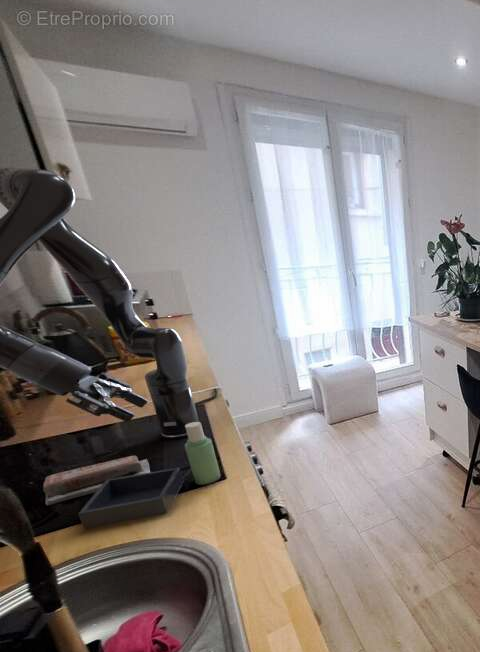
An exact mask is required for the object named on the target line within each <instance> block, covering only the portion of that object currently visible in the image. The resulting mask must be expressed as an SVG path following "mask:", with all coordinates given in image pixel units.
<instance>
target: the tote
mask: <svg viewBox="0 0 480 652" xmlns="http://www.w3.org/2000/svg"><path fill="white" fill-rule="evenodd" d="M181 471H182V470H181V468H180V467H176V468H175V467H174V468H168V469H163V470H158V471H150V473H144V474H138V475H132V476H126V477H120V478H114V479H107V480H106V481H105V482H104V483H103V484H102V486H101V487H100V488H99V489H98V490H97V492H94V493H93V495H92V496H91V498H89V500H88V501H87V502H86V503H85V505H84V506H83V507H82V508H81V509H80V511H79V512H78V513H77V515H78V517H79V519H80V522H81V524H82V527H83V529H84V530H90V529H95V528H101V527H105V526H111V525H115V524H120V523H125V522H130V521H136V520H141V519H145V518H150V517H151V518H152V517H155V516H161V515H165V514H166V515H167V514H168V512H169V510H170V508H171V506H172V505H173V503H174V501H175V500H176V497H177V495H178V493H179V491H180V489H181V488H182V486H183V484H184V478H183V474H182V472H181Z"/></svg>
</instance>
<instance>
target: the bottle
mask: <svg viewBox="0 0 480 652" xmlns="http://www.w3.org/2000/svg"><path fill="white" fill-rule="evenodd" d="M185 428H186V431H187V435H188V436H187V440H186V443H185V444H184V449H185V453H186V456H187V458H188V462H189V466H190V469H191V473H192V477H193V479H194V484H196V485H200V486H204V485H208V484H212V483H214V482H217V481H218V480H219V479H221V476H222V475H221V471H220V468H219V463H218V460H217V456H216V453H215V452H216V451H215V449H214V445H213V442H212V439H211V438H210V437H207V436H206V435H205V434H204V430H203V425H202V423H201V422H200V421H199V422H192V423H189V424H187V425H185Z"/></svg>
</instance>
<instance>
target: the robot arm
mask: <svg viewBox="0 0 480 652" xmlns="http://www.w3.org/2000/svg"><path fill="white" fill-rule="evenodd" d="M75 203H76V194H75V191H74V189H73V187H72V185H71V184H70V183H69V182H68V181H67V180H66V179H65V178H64V177H62V176H61V175H58V174H57V173H55V172H52V171H49V170H45V169H38V168H31V167H19V166H0V204H1V205H2V206H3V207H4V208H5V209H6V210H7V211H6V213H4V215H3V216H1V217H0V287H1V286H2V285H3V284H4V282H5V281H6V279H7V278H8V276H9V275H10V273H12V270H13V269H14V268H15V266H17V264H18V262H20V261H21V259H22V258H23V257H24V255H25V254H26V253H27V252H28V251H29V250H30V249H31V248H32V247H33V246H34V245H35V244H36V243H37V242H38V241H39V242H40V244H41V245H42V246H43V247H44V248H45V249H46V250H47V252H48V253H49V254H50V255H51V256H52V257H53V259H54V260H55V261H56V262H57V263H58V264H59V265H60V266H61V268H62V269H63V271H64V272H66V273H67V275H68V276H69V277H70V279H71V280H72V281H73V282H74V283H75V285H76V286H77V287H78V289H80V291H81V292H82V293H83V294H84V295H85V296H86V297H87V298H88V299H89V300H90V302H91V303H93V305H94V307H96V309H97V310H98V311H99V312H100V314H101V315H102V316H103V317H104V318H105V320H106V322H107V323H108V324H109V326H110V327H111V328H112V330H113V331H114V332H115V334H116V335H117V337H118V339H119V340H120V341H121V343H122V344H123V346H124V347H125V349H126V350H127V352H129V353H130V354H131V355H133V357H135V358H139V359H143V360H155V364H156V368H155V369H153V370H150V371H147V372H146V373H145V374H144V381H145V383H146V387H147V390H148V393H149V396H150V399H151V402H152V405H153V409H154V412H155V415H156V419H157V422H158V425H159V428H160V431H161V436H162V438H164V439H167V440H176V439H182V438H186V437H188V435H187V431H186V428H185V425H187V424H189V423H192V422H200V419H199V416H198V412H197V409H196V406H198V405H200V404H202V403H206V402H208V401H211V400H213V399H215V398H216V397H218V389H217V388H216V387H215V388H213V391H214V395H213V396H210V397H208V398H206V399H202V400H199V401H197V402H195V401H194V397H193V394H192V391H191V387H190V383H189V380H188V375H187V369H188V363H187V360H186V353H185V349H184V345H183V341H182V339H181V336H180V334H179V333H178V332H177V331H176V330H175V329H172V328H169V327H149V326H147V324H145V323H144V322H143V321H142V320H141V319H140V317H139V315H137V313H136V311H135V310H134V306H133V300H134V299H133V295H134V294H133V293H134V292H133V286H132V283H131V281H130V280H129V278H128V277H127V275H125V273H124V272H123V270H122V268H120V267H119V265H118V264H117V262H116V261H115V260H113V259H112V258H111V257H110V255H108V254H107V253H106V252H104V251H103V250H102V249H100V248H99V247H98V246H96V245H95V244H94V243H92V242H91V241H90V240H88V239H87V238H85V237H84V236H83V235H82V234H80V233H79V232H78V231H77V230H75V229H74V228H73V227H72V226H71V225H70V224H69V223H68V221H66V219H65V218H64V217H66V215H68V213H70V211H71V210H72V209H73V208H74V206H75ZM0 368H1V369H4V370H6V371H8V372H10V373H12V374H14V375H15V376H17V377H18V378H20V379H22V380H25V381H27V382H29V383H32V384H34V385H36V386H38V387H41V388H43V389H45V390H46V391H49V392H51V393H54V394H56V395H58V396H60V397H65V396H67V395H69V394H70V395H69V396H68V398H66V400H65V402H66V403H68V404H70V405H72V406H74V407H76V408H79V409H80V410H83V411H85V412H87V413H89V414H91V415H93V416H95V417H100V416H101V415H106V416H107V415H110V416H111V417H114V418H116V419H117V420H121V421H123V422H126V423H129V422H130V421H131V420H132V419H133V418H134V417H135V416H136V414H135V412H133V411H130V410H128V409H126V408H124V407H121V406H119V405H117V404H115V403H114V402H113V401H112V400H111V399H113V398H117V399H122V400H124V401H125V402H128V403H130V404H132V405H134V406H136V407H137V408H143V407H145V405H146V404H147V403H148V402H149V400H148V399H147V398H146V397H143V396H142V395H140V394H137V393H135V392H133V390H132V389H131V388H132V385H131V384H129V383H127V382H125V381H122V380H120V379H119V378H116V377H114V376H113V375H110V374H108V373H105V372H100V374H98V375H97V376H94V375H91V373H92V370H93V369H92V367H91V366H88V365H86V364H84V363H83V362H81V361H79V360H77V359H74V358H72V357H70V356H68V355H67V354H64V353H62V352H61V351H58V350H57V349H54V348H52V347H49V346H46V345H44V344H41V343H38V342H37V341H35V340H33V339H31V338H29V337H27V336H24V335H23V334H20V333H19V332H15V331H13V330H11V329H9V328H7V327H5V326H3V325H1V324H0Z"/></svg>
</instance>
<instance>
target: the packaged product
mask: <svg viewBox="0 0 480 652" xmlns="http://www.w3.org/2000/svg"><path fill="white" fill-rule="evenodd" d="M150 472H151V469H150V464H149V461H148V459H147V458H146V459H142V460H139V457H138V456H137V455H130V456H126V457H121V458H116V459H113V460H109V461H103V462H100V463H95V464H92V465H91V464H90V465H87V466H82V467H78V468H74V469H69V470H66V471H61V472H57V473H54V474H50V475H48V476H46V477H45V478H44V479H45V480H44V481H43V483H42V484H43V485H42V486H43V487H42V489H43V493H45V506H50V505H53V504H58V503H62V502H64V501H68V500H71V499H76V498H79V497H83V496H86V495H87V496H88V495H90V494H95V493H96V492H97V490H98V489H99V488H100V487H101V486H102V484H103V483H104V482H105V481H106V480H107V479H114V478H120V477H126V476H132V475H138V474H144V473H150Z"/></svg>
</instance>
